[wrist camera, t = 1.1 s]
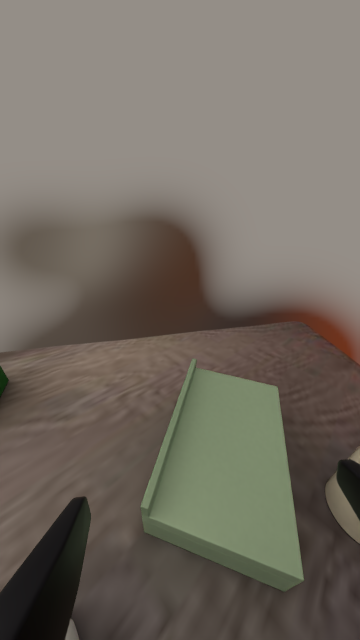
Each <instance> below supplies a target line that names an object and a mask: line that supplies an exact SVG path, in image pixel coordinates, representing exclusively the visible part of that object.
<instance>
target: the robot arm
mask: <svg viewBox="0 0 360 640" xmlns="http://www.w3.org/2000/svg"><path fill="white" fill-rule="evenodd" d="M336 480H337V483H338V485H339V487H340V489H341V490H342V492H343V494H344V495H345V497H346V499H347V500H348V502H349V504H350V506H351V507H352V509H353V511H354V512H355V514H356V516H357V517H358V519H359V521H360V464H359V463H357V462H355V461H353V460H351V459H346V460H340V461H339V462H338V467H337V474H336ZM90 521H91V513H90V509H89V505H88V501H87V498H86V497H76V498H74V499H72V500H71V501H70V503H69V504H68V505H67V506H66V508H65V509H64V510H63V512H62V513H61V514H60V516H59V517H58V518H57V519H56V521H55V522H54V523H53V525H52V526H51V527H50V529H49V530H48V531H47V532H46V534H45V535H44V536H43V538H42V539H41V540H40V542H39V543H38V544H37V545H36V547H35V548H34V549H33V551H32V552H31V553H30V555H29V556H28V557H27V558H26V560H25V561H24V562H23V564H22V565H21V566H20V568H19V569H18V570H17V572H16V573H15V574H14V575H13V577H12V578H11V579H10V581H9V582H8V583H7V585H6V586H5V587H4V588H3V590H2V591H1V592H0V640H65V638H66V634H67V630H68V627H69V623H70V619H71V615H72V611H73V607H74V603H75V599H76V595H77V591H78V587H79V582H80V577H81V571H82V566H83V560H84V554H85V549H86V543H87V538H88V532H89V527H90Z"/></svg>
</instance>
